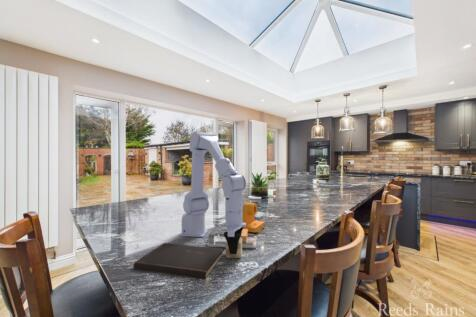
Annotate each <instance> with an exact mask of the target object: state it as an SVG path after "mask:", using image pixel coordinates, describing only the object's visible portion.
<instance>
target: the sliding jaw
mask: <svg viewBox="0 0 476 317" xmlns="http://www.w3.org/2000/svg"><path fill="white" fill-rule="evenodd" d="M241 233H242V234H241V238H242V242H247V238H248V234H249V232H248V229H243V230H242V232H241Z"/></svg>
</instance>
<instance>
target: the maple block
mask: <svg viewBox="0 0 476 317" xmlns="http://www.w3.org/2000/svg"><path fill="white" fill-rule="evenodd" d="M242 255H243V248H242V238H240V239H239V242H238V249H237V253H236V254H230V252H229V247H228V243H227V241H226V247H225V258H229V259H231V258H234V259H235V258H236V259H241V258H242Z"/></svg>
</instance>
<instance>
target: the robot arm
mask: <svg viewBox="0 0 476 317" xmlns="http://www.w3.org/2000/svg"><path fill="white" fill-rule="evenodd" d="M189 151H190V152H191V180H190V182H191V183H190V185H191V186H190V191H189V192H187V193H186V194H185V195H184V199H183V204H182V207H183V211H184V213H183V214H182V216H181V235H180V236H181V237H194V238H195V237H199V238H203V237H204V236H205V235H206V234H207V232H208V231H209V230H208V229H206V218H205V217H206V215H205V213H207V211H208V209H209V208H210V207H209V206H210V202H209V195H208V194H207V193H206V191H204V173H205V171H204V170H205V155H206V153H209V154H210V156H211V157H212V159H213V160H214V161H215V164H214V167H215V169H216V172H217V174H218V175H219V177H220V179H221V188H222V191H223V197H224V198H225V199H224V201H225V205H224V206H225V209H224V210H225V212H224V214H225V216H224V217H225V223H224V227H225V229H226V230H227V231H224V232H223V233H224V237H225V238H226V240H227V243H228V247H229V252H230V254H236V253H237V249H238V242H239V239H240V237H241V234H242V230H243V227H245V226H246V223H242V213H243V191H244V190H245V189H246V186H247V181H246V180H247V179H246V178H245V176H244V175H243V173H240V172H239V171H237V170H236V169H235V167H234V165H233V164H232V162H231V160H230V158H228V157H225V156H224V154H223V151H222V150H221V147H220V145H219V137H218V135H217V133H216V132H206V131H205V132H204V131H203V132H202V131H195V130H194V131H193V132H192V133H191V135H190V136H189Z"/></svg>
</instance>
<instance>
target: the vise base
mask: <svg viewBox="0 0 476 317" xmlns="http://www.w3.org/2000/svg"><path fill="white" fill-rule="evenodd" d="M240 238H241V237H240ZM257 240H258V236H257V235H255V234H254V233H248V238H247V242H242V249H256V248H257ZM226 241H227V240H226V238H225V237H224V232H220V233H219V227H213V228H212V229H211V231H210V232H209V234H208V242H207V243H206V247H208V248H226Z"/></svg>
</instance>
